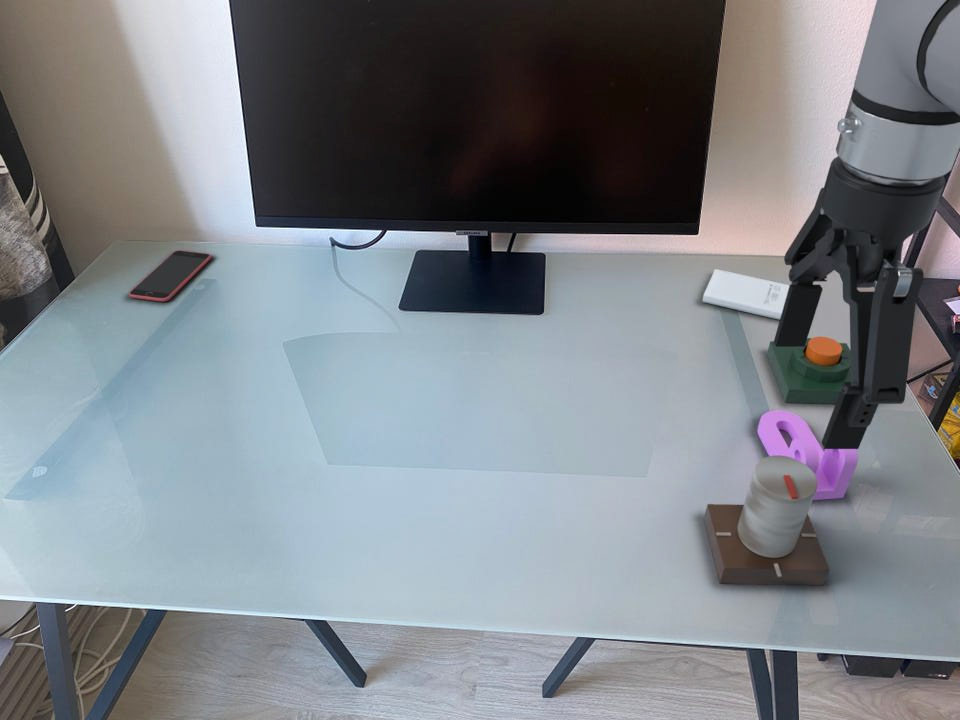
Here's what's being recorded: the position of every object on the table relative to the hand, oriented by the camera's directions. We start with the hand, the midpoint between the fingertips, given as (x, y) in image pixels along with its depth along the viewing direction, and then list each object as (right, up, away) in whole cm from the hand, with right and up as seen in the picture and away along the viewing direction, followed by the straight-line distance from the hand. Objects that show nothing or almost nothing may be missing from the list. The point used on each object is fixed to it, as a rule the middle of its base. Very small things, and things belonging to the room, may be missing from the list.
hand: (812, 391), depth 67 cm
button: (+14, +3, +29) cm, 33 cm away
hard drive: (+11, +12, +46) cm, 49 cm away
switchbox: (+14, 0, +32) cm, 35 cm away
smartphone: (-79, +16, +54) cm, 97 cm away
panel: (-1, -17, +10) cm, 20 cm away
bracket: (+7, -9, +21) cm, 23 cm away
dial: (-1, -15, +9) cm, 17 cm away
